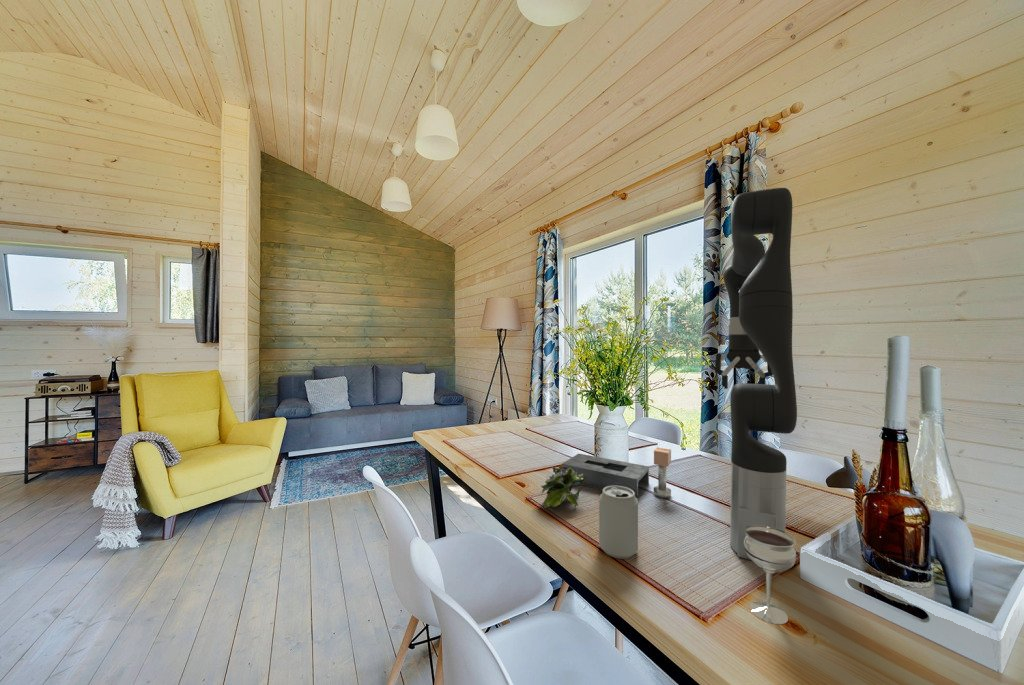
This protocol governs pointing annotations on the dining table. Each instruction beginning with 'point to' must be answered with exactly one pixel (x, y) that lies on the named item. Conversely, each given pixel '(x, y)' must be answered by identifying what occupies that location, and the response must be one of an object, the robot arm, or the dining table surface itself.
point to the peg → (662, 471)
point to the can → (618, 522)
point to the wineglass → (769, 564)
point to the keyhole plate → (608, 472)
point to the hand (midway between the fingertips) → (743, 389)
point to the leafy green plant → (562, 486)
